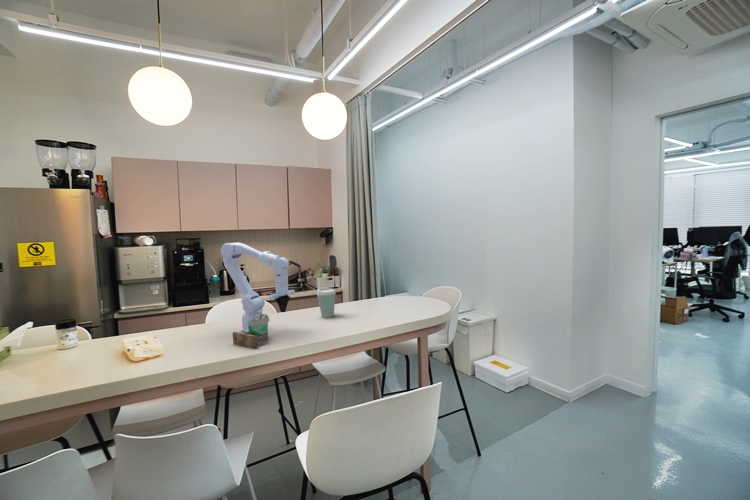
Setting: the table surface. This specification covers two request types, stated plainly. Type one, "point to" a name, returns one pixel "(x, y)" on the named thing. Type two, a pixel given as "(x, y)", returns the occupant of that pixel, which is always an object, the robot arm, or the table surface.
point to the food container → (259, 326)
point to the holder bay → (249, 340)
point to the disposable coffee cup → (326, 301)
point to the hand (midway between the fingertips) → (283, 311)
